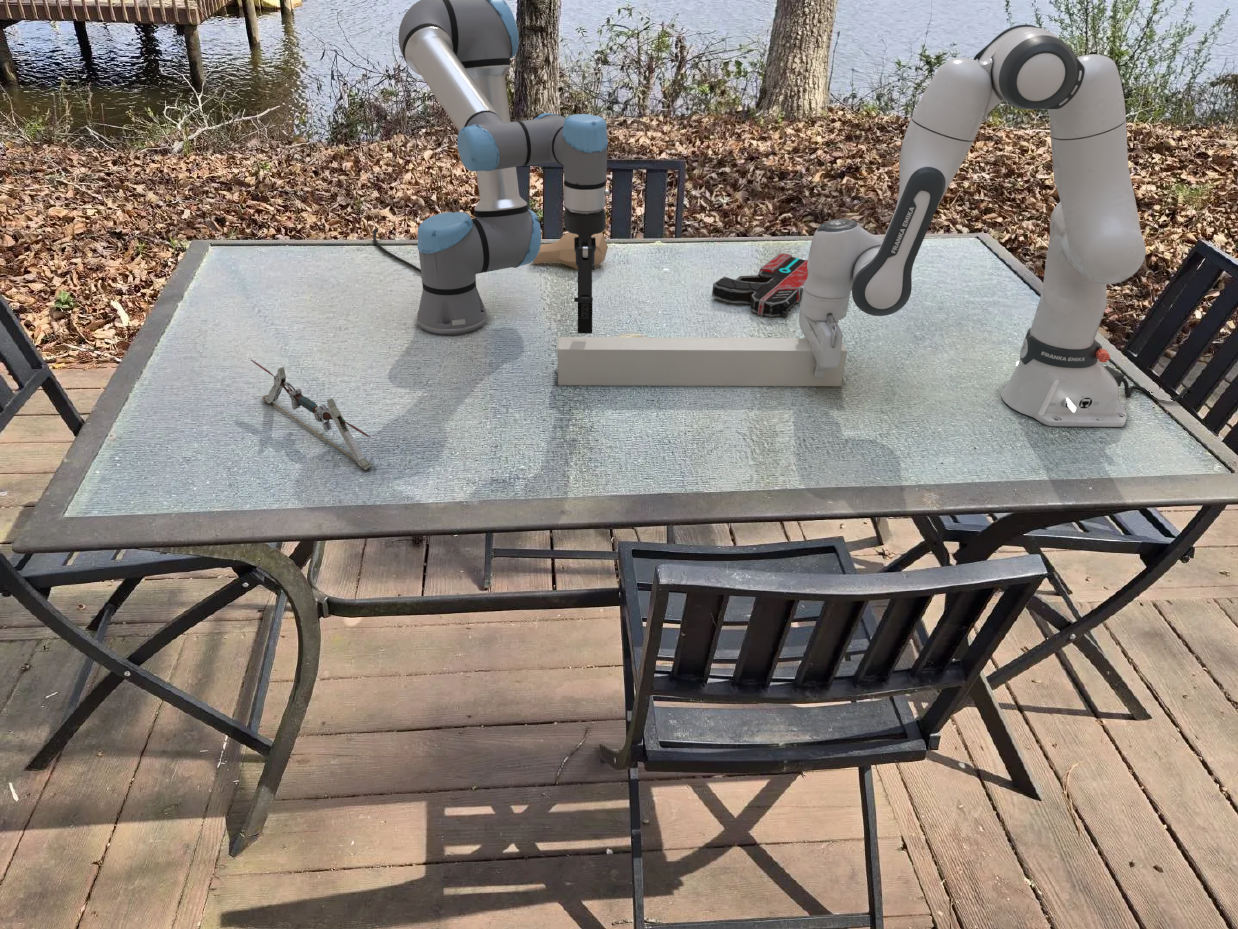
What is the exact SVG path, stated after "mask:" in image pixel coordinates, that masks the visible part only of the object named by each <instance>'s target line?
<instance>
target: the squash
mask: <svg viewBox="0 0 1238 929" xmlns="http://www.w3.org/2000/svg"><path fill="white" fill-rule="evenodd" d="M574 237H578V235H577V234H572V233H570V232H566V233H565V234H564V235H562V236H561V237H560V238H559V239H558V240H557V241H554V242H552V243H545V244H541V245H540V250H539V253H538V255H537V257H536V259H535V260H534V261H533V262H532V263H533V264H534V265H538V264H546V263H557V264H563V265H565V266H567V267H570V268H573V269H576V270H578V266H577V265H576V252H575V251H574ZM591 237H596V251H595V253H594V264H595V266H597V265H599V264H601V263H603V262H604V261H605V259H606V256H607V253H608V248H609V246H608V244H607V241H606V239H605V236H604V234H603V232H601V233H599V234H594V235H592V236H591Z"/></svg>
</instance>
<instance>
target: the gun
mask: <svg viewBox="0 0 1238 929" xmlns="http://www.w3.org/2000/svg"><path fill="white" fill-rule="evenodd" d="M807 263H808V259H802V258H799V257H795V256H793V255H792V254H791V253H784V252H780V253H778V254H777V255H775V256H774V257H773V258H771V259H770V260H768V261H767V262H766V263H765V264H763V265H762V266H761V267H760V269H759V271H758V273H757V274H756V275H753V274H752V275H751V274H750V275H740V276H738V277H737V278H735V279H734V278H731V277H727V276H722V277H720V279H717V281H715V282H713V283H712V291H711V297H713V298H714V299H716V300H719V301H723V302H727V303H730V304H750V305H749V308H750V310H751V312H753V313H755V314H757V315H758V316H760V317H761V316H765V317H770V318H771V317H777V316H780V317H784V318H787V317H788V315H789V311H788V310H790V309H791V308H792V307H793V306H794V305H795V304H798V303H800V297H799V289H800V287H801V286H804V284H805V282H806V280H807V277H808V270H807Z"/></svg>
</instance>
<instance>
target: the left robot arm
mask: <svg viewBox="0 0 1238 929" xmlns="http://www.w3.org/2000/svg"><path fill="white" fill-rule="evenodd" d="M519 37H520V36H519V30H518V26H517V22H516V18H515V16H514V13H513V11H512V9H511V8H510V6H509V4H508V3H507V2H506V0H418V1H416V2H415V3H413V4H412V5H411V6H410V7H409V8H408V10H407V11H406V12H405V14H404V15H403V17H402V20H401V22H400V25H399V29H398V46H399V50H400V53H401V55H402V57H403V59H404V61H405V63H406V64H407V65H408V67H409V68H410V70H411V71H412V72H414V73H415V74H417V75H419V76H421V77H422V80H424V81H425V83H426V84H427V86H428V88H429V89H430V91H431V92H432V93H433V95H434V97H435V98H436V100H437V101H438V102H439V104H440V106H441V108H442V110H444V112H445V113H446V115H447V116H448V118H449V119H450V121H451V122H452V124H453V125H454V127H455V128H456V130H457V131H458V134H457V138H456V139H457V151H458V156H459V157H460V161H461V162H460V163H462V165H463V167H464V168H465V169H466V170H468V171H470V172H475V173H476V180H477V181H476V182H477V188H478V195H479V200H478V202H477V204H476V205H475V206H474V208H473V210H474V218H473V217H471V216H470V214H468V213H466V212H463V211H454V212H452V211H446V212H440V213H438V214H434V215H432V216H429V217H427V218H426V219H424V220H423V221H422V222H421V223H420V224H419V226H418V227H417V247H416V248H417V250H418V258H419V264H420V266H419V267H420V268H419V267H417V266H416V265H414V264H412V263H411V262H409V261H407V260H404V259H403V258H401V257H399V256H397V255H395V254H393V253H392V252H390V251H389V250H387V249H385V248H384V247H383V246H382V245H381V244H380V243H379V241H378V240H377V233H379V230H378V228H377V227H375V228H374V229H373V233H372V240H373V243H374V245H375V246H376V247H377V248H379V249H380V250H381V251H382V252H383V253H384V254H386V255H387V256H389V257H391V258H392V259H394V260H395V261H398V262H399V263H402V264H404V265H406V266H408V267H409V268H410V269H413V270H415V271H416V272H418V273H420V275H421V276H420V277H421V284H422V292H421V297H420V302H419V305H418V310H417V316H416V318H417V325H418V326H419V328H420V329H421V330H423V331H424V332H427V333H430V334H433V335H440V336H459V335H465V334H469V333H473V332H476V331H477V330H480V329H481V328H483V327H484V326H485V325H486V323H487V320H488V316H487V310H486V306H485V304H484V302H483V299H482V298H481V295H480V293H479V291H478V288H477V278H476V277H477V276H476V275H478V274H483V273H488V272H494V271H499V270H504V269H511V268H514V269H517V268H519V267H521V266H526V265H530V264H532V263H534V262H533V261H534V260H535V259H536V257H537V255H538V253H539V250H540V245H542V229H541V224H540V222H539V217H538V215H537V214H536V212H534V211H533V210H530V209H529V205H528V202H527V201H526V200H524V199H523V198H522V197H521V195H520V191H519V181H518V173H517V172H518V171H517V167H523V166H524V167H527V166H534V165H542V164H548V163H549V164H550V163H557V164H558V165H560V166H562V167H563V206H564V207H565V209H564V210H563V218H564V219H563V224H564V225H563V226H564V229H565V231H566V232H567V233H569V232H570V233H572V234H577V235H578V237H574V251H575V252H576V265H577V266H578V269H577V270H578V271H577V297H574V298H573V299H574V300H573V301H574V303H577V334H584V335H587V334H589V335H590V334H593V301H594V297H593V271H595V269H596V268H595V267H596V265H595V264H594V253H595V251H596V237H591V236H592V235H594V234H599V233H603V232H604V231H605V230H606V228H607V227H606V226H607V211H606V209H605V208H606V206H607V205H606V203H607V196H609V195H610V193H611V192H610V189H608V188H607V176H608V175H607V172H608V171H607V170H608V145H609V140H608V139H609V138H608V124H607V121H606V120H605V118H603V117H602V116H599V115H594V114H590V113H577V114H570V115H568V116H566V117H565V116H564V115H560V114H558V113H553V112H543V113H541V114H539V115H537V116H536V117H535V118H533V119H525V120H516V121H511V116H510V109H509V101H508V100H509V99H508V93H507V92H508V91H507V84H506V83H507V82H506V75H507V73H508V72H509V70H510V69H511V67H512V66H511V65H512V64H511V60H512V59H513V58H514V57H515V56H516V55H517V52H518V50H519V45H518V44H519V42H520V41H519Z"/></svg>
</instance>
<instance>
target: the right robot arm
mask: <svg viewBox="0 0 1238 929" xmlns="http://www.w3.org/2000/svg"><path fill="white" fill-rule="evenodd" d="M1120 76H1121V75H1120V73H1119V70H1118V66H1117V64H1116V62H1115V61H1114V60H1113V59H1112V58H1110V57H1109V56H1107V55H1103V54H1098V53H1093V54H1083V55H1080V56H1077V55H1076V54H1075V53H1074V52H1073V51H1072V49H1071V48H1070V47H1069V46H1068V44H1067V43H1065V42H1064V41H1063V40H1062V39H1060V38H1059V37H1058V36H1057V35H1055V34H1054V33H1053V32H1051V31H1049V30H1047V29H1045V28H1041V27H1038V26H1036V25H1033V24H1019V25H1018V24H1017V25H1013V26H1011V27H1009V28H1006V29H1005V30H1003V31H1002V32H1000V33H999V34H998V35H997V36H995V37H994V38H993V39H992V40H991V41H990V42H989V43H988V44H987V45H986V46H985V47H984V48H982V49H981V50H980V51H978V52H977V53H976V54H975V55H974V57H973V58H969V57H958V58H957V57H956V58H952V59H950V60H947V61H946V62H944V63H943V64H942V65H940V67H939V68H938V69H937V71H936V73H935V74H934V75H933V77H932V79H931V80H930V82H929V84H928V85H927V86H926V88H925V90H924V92H923V94H922V95H921V97H920V100H919V101H918V103H917V105H916V108H915V110H914V112H913V114H912V116H911V118H910V121H909V123H908V125H907V127H906V130H905V133H904V137H903V140H902V144H901V147H900V152H899V158H898V176H899V180H898V181H899V183H898V185H899V187H898V196H897V201H896V206H895V209H894V212H893V215H892V216H891V220H890V222H889V224H888V226H887V229H886V231H885V234H884V236H883V237H879V236H877V235H875V234H872V233H871V232H869V231H867V230H866V229H864V228H863V227H862V226H861V225H860V224H859V223H858V221H856V220H853V219H848V218H835V219H831V220H828V221H825V222H823V223H821V224H820V225H818V227H817V228H816V230H815V232H814V234H813V235H812V240H811V244H810V247H809V252H808V257H807V260H808V263H807V270H808V277H807V280H806V282H805V284H804V286H801V287H800V289H799V297H800V301H799V311H798V324H799V325H798V326H799V328H800V330H801V333H802V335H803V337H804V338H806V339H807V341H808V343H809V345H810V347H811V349H812V353H813V355H814V357H815V359H816V362H817V363H816V366H815V367H814V371H813V374H814V376H815V377H816V378H822V377H823V376H824V371H825V369H836V368H837V367H838V366H839V363H840V356H841V349H842V342H843V331H842V329H841V327H840V325H839V323H840V322H839V321H841V320H843V319H844V318H846V317H847V314H848V310H849V309H848V308H849V304H850V298H851V297H852V301H853V302H854V305H855V306H856V307H857V308H858V309H859V310H860V311H861V312H863V313H864V314H867V315H870V316H873V317H885V316H889V315H893V314H895V313H897V312H899V311H900V310H901V309H902V308H904V307H905V305H906V304H907V303H908V301H909V299H910V297H911V294H912V288H913V286H912V284H913V283H912V282H913V281H912V280H913V278H912V273H913V266H914V263H915V261H916V258H917V255H918V253H919V252H920V249H921V247H922V244H923V242H924V239H925V237H926V235H927V233H928V230H929V228H930V225H931V224H932V221H933V218H934V216H935V214H936V211H937V209H938V207H939V205H940V203H941V201H942V200H943V198H944V196H945V194H946V192H947V190H948V189H949V187H950V185H951V184H952V181H953V180H954V178H955V176H956V175H957V174H958V171H959V169H960V168H961V166H962V164H963V163H964V161H965V159H966V157H967V155H968V154H969V151H970V149H971V147H972V145H973V143H974V141H975V139H976V137H977V134H978V132H979V131H980V128H981V125H982V123H983V121H984V120H985V119H986V117H987V116H988V114H989V113H990V112H991V111H992V110H993V109H994V108H995V107H996V106H998V105H999V104H1001V103H1003V102H1007V103H1008V104H1010V105H1011V106H1013V107H1015V108H1018V109H1021V110H1030V111H1032V110H1035V111H1037V110H1047V115H1048V117H1049V132H1050V134H1049V135H1050V144H1051V156H1052V157H1051V158H1052V169H1053V179H1054V184H1055V187H1056V191H1057V194H1058V197H1059V202H1058V203H1057V204H1056V206H1055V207H1054V208H1053V210H1052V212H1051V214H1050V218H1049V238H1048V245H1047V251H1046V258H1045V265H1044V276H1043V281H1042V282H1043V283H1042V288H1041V293H1040V297H1039V301H1038V304H1037V306H1036V309H1035V313H1034V317H1033V320H1032V323H1031V326H1030V328H1028V329H1027V332H1026V334H1025V337H1024V339H1023V341H1022V345H1021V348H1020V352H1019V360H1018V361H1016V363H1015V369H1014V371H1013V373H1012V374H1011V377H1010V378H1009V380H1008V381H1007V384H1006V385H1005V386H1004V388H1003V389H1002V390H1001V393H1000V395H1001V399H1002V401H1003V402H1004V403H1005V404H1006V405H1008V407H1010V408H1011V409H1013V410H1015V411H1016V412H1019V413H1021V414H1023V415H1026V416H1028V417H1031V418H1033V419H1034V420H1037V421H1038V422H1040V423H1041V424H1043V425H1044V426H1047V427H1076V428H1077V427H1081V428H1082V427H1085V428H1087V427H1089V428H1091V427H1092V428H1093V427H1094V428H1122V427H1124V426H1125V424H1126V423H1127V418H1128V415H1127V414H1128V413H1127V410H1126V408H1125V406H1124V405H1123V403H1122V402H1121V401H1120V387H1121V385H1122V383H1123V386H1124V395H1125V396H1126V397H1131V395H1132V392H1133V391H1134V390H1135V391H1140V392H1143V393H1145V394H1147V396H1150V397H1152V398H1154V399H1156V400H1158V399H1157V398H1155V397H1154V396H1153V395H1151V394H1150V392H1149V391H1150V390H1149V391H1147V390H1146V389H1147V388H1146V389H1145V387H1143V386H1141V385H1140V386H1138V385H1131V386H1129V381H1128V380H1127V378H1125V374H1123V373H1121V372H1120V371H1118V370H1117V369H1114V368H1112V367H1110V366H1109V365H1103V364H1104V363H1107V362H1108V361H1110V359H1111V355H1110V354H1109V352H1108V351H1107V349H1104V348H1103V346H1102V345H1101V343H1100V342H1098V341H1097V339H1096V337H1097V333H1098V331H1099V329H1100V326H1101V322H1102V320H1103V317H1104V315H1105V312H1106V308H1107V304H1108V297H1107V296H1108V295H1107V285H1114V284H1120V283H1123V282H1125V281H1127V280H1128V279H1130V278H1131V277H1133V276H1134V275H1135V274H1136V273H1138V271H1139V270H1140V268H1141V267H1142V265H1143V264H1144V261H1145V258H1146V254H1147V248H1146V244H1145V241H1144V237H1143V234H1142V230H1141V225H1140V219H1139V213H1138V206H1137V202H1136V195H1135V192H1134V191H1135V190H1134V188H1133V183H1132V179H1131V173H1130V168H1129V167H1130V166H1129V156H1128V155H1129V153H1128V152H1129V151H1128V134H1127V132H1128V131H1127V115H1126V114H1127V113H1126V103H1125V95H1124V89H1123V85H1122V81H1121V77H1120ZM1151 393H1154V392H1153V391H1151ZM1186 393H1188V394H1193V390H1192V389H1191V388H1190V387H1184V388H1183V389H1182V390H1181V392H1180V393H1179V394H1178V395H1176V396H1174V397H1169V398H1170V399H1171V400H1173V401H1174V402H1177V401H1179V400H1181V399H1182V398H1183V397H1184V396H1185V395H1186Z"/></svg>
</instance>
